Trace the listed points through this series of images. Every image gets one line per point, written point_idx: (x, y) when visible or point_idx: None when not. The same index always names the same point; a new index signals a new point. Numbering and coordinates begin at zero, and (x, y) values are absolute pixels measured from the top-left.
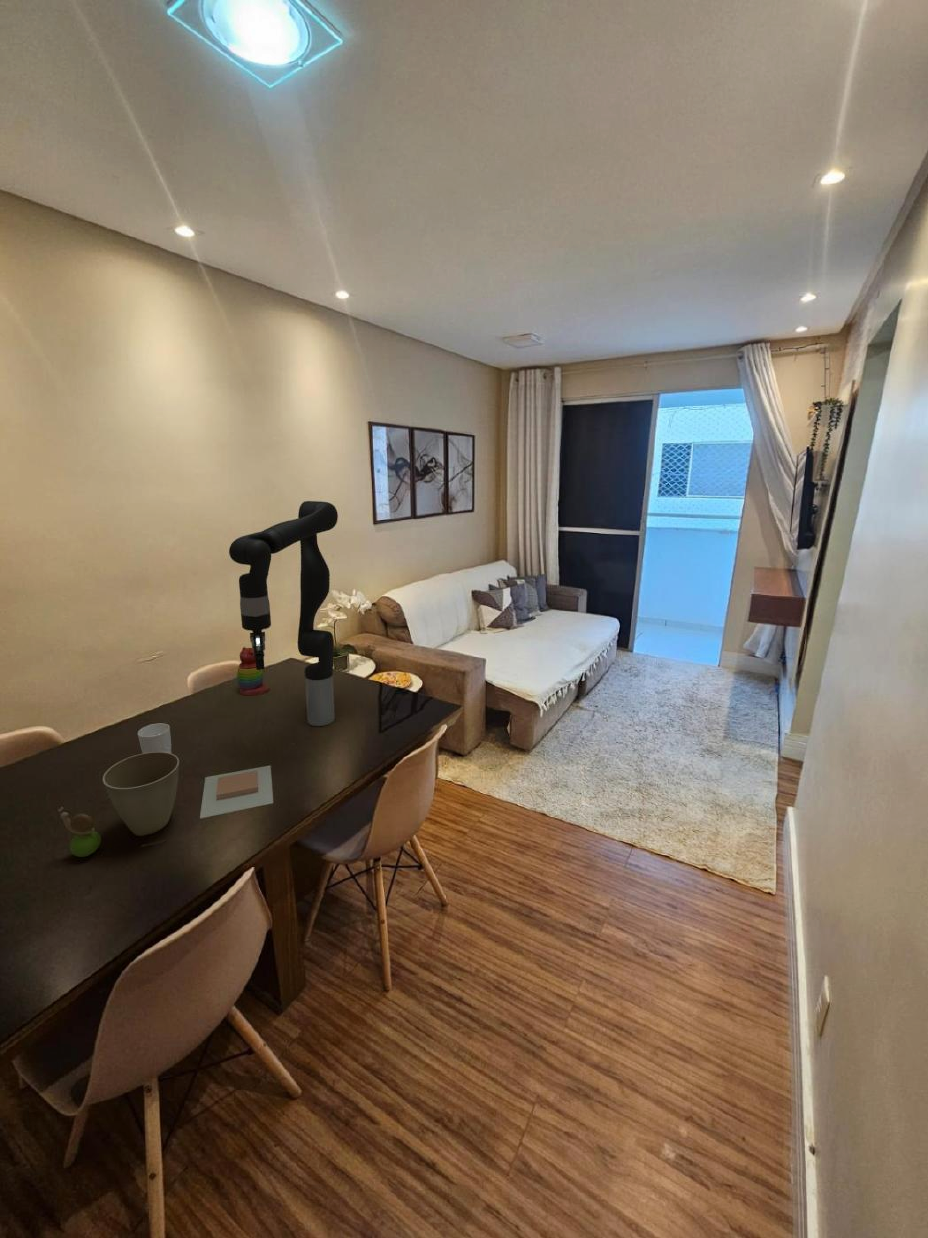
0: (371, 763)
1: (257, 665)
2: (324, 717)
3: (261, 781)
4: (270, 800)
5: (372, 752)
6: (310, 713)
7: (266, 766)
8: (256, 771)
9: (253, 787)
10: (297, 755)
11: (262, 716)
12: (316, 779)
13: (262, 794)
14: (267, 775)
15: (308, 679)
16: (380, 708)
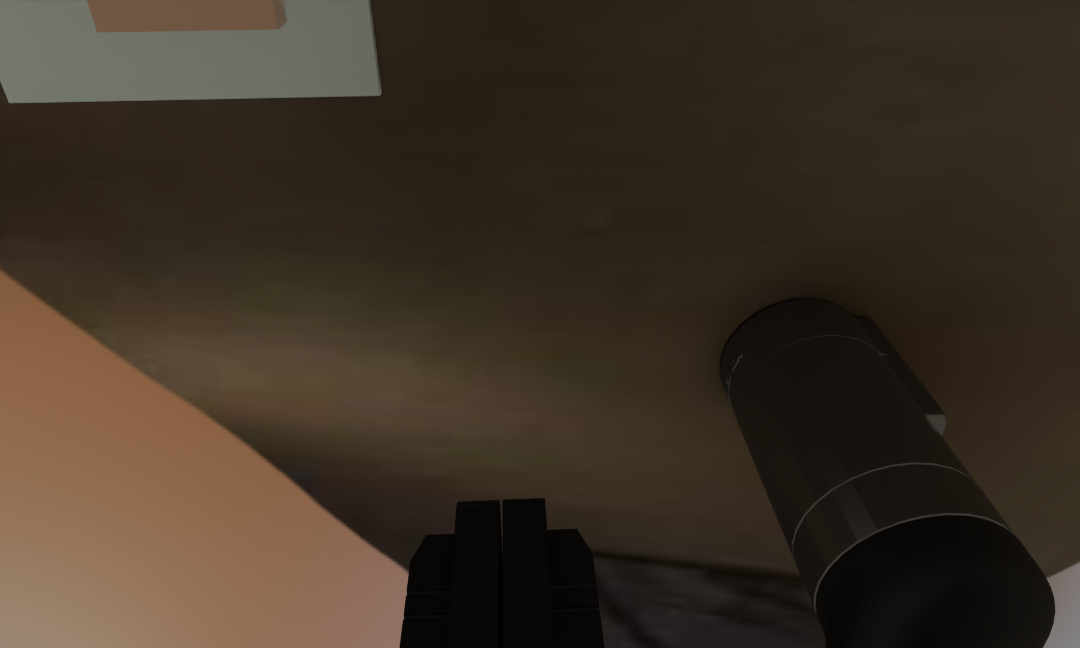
0: (318, 494)
1: (457, 574)
2: (732, 401)
3: (219, 43)
4: (31, 89)
5: (403, 507)
6: (781, 355)
7: (374, 72)
8: (266, 24)
9: (91, 6)
10: (468, 230)
11: (1041, 49)
12: (226, 297)
13: (88, 47)
14: (276, 77)
15: (879, 529)
16: (767, 575)
